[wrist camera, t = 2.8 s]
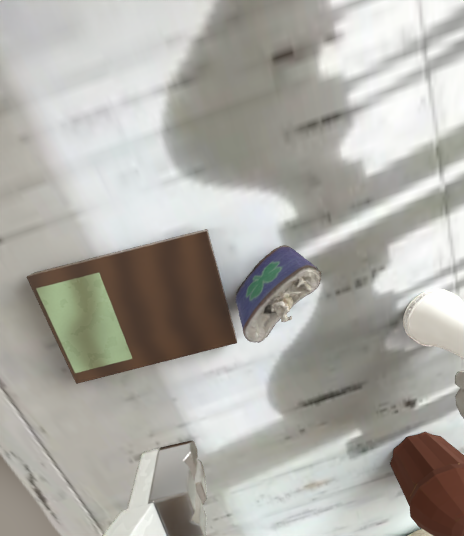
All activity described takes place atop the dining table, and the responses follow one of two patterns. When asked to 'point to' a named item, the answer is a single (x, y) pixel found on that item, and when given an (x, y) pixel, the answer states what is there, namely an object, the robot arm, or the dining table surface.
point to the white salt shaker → (436, 320)
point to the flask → (274, 291)
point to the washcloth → (420, 533)
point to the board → (136, 306)
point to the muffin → (432, 483)
